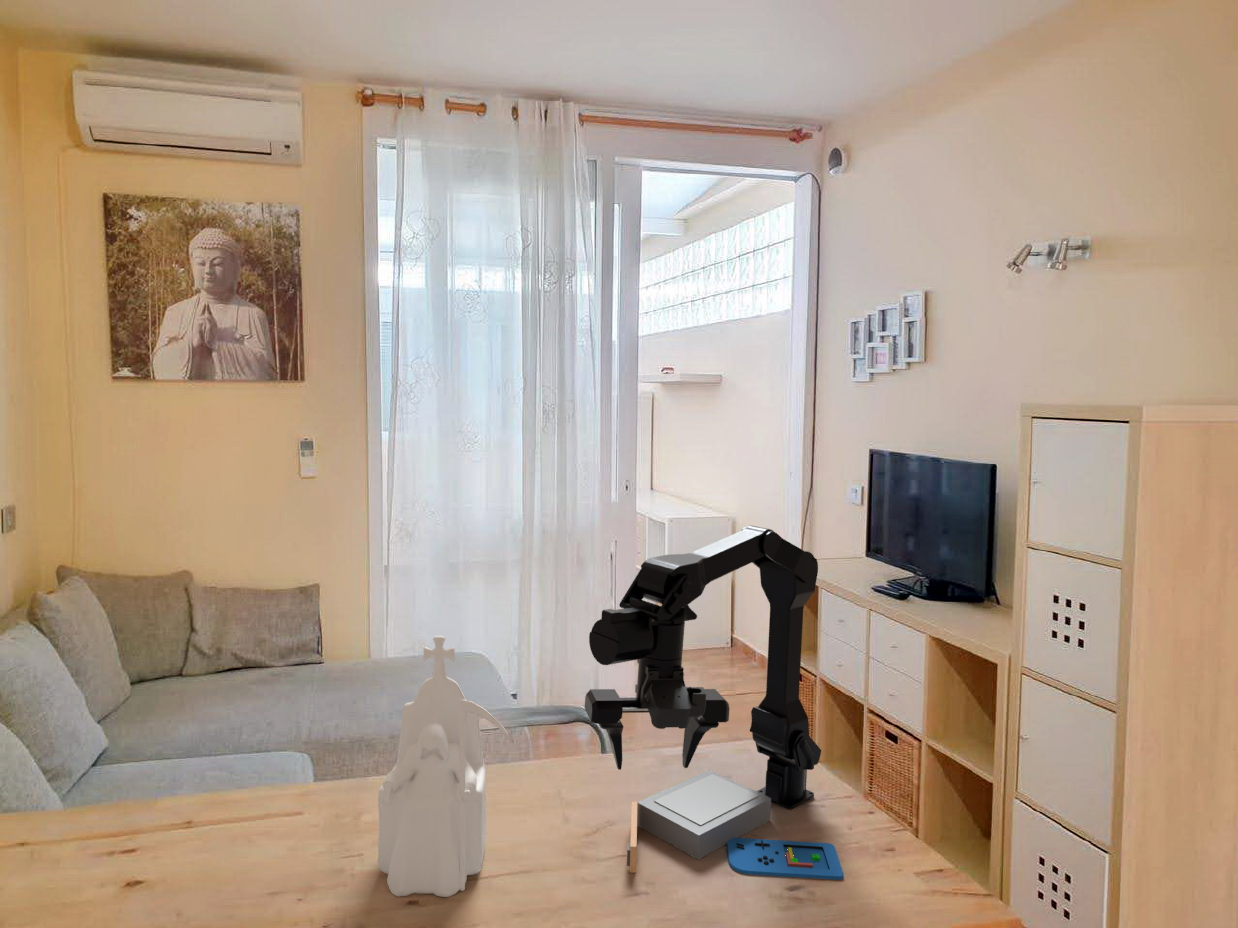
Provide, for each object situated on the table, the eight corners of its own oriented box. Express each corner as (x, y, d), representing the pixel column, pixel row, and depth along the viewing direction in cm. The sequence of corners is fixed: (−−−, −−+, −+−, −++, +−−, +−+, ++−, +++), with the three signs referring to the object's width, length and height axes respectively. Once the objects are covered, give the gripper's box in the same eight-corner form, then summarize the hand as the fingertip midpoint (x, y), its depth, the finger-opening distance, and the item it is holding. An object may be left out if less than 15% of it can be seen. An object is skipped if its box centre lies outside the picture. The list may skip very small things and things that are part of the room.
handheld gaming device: (726, 834, 125) (833, 841, 124) (726, 842, 125) (833, 848, 124) (729, 867, 117) (844, 874, 116) (729, 875, 117) (844, 882, 116)
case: (708, 790, 139) (709, 768, 139) (770, 820, 131) (771, 796, 130) (636, 824, 128) (637, 801, 128) (698, 859, 120) (699, 834, 119)
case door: (636, 825, 128) (637, 801, 127) (635, 872, 116) (636, 846, 115) (628, 824, 128) (629, 801, 127) (626, 872, 116) (627, 846, 116)
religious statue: (367, 900, 109) (363, 668, 105) (394, 839, 123) (391, 631, 119) (506, 902, 110) (507, 670, 106) (517, 841, 123) (519, 634, 119)
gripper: (604, 673, 107) (595, 796, 109) (748, 673, 112) (738, 792, 113) (587, 646, 118) (580, 759, 119) (719, 647, 122) (711, 756, 123)
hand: (652, 767), depth 118 cm, fingers open, 9 cm apart
